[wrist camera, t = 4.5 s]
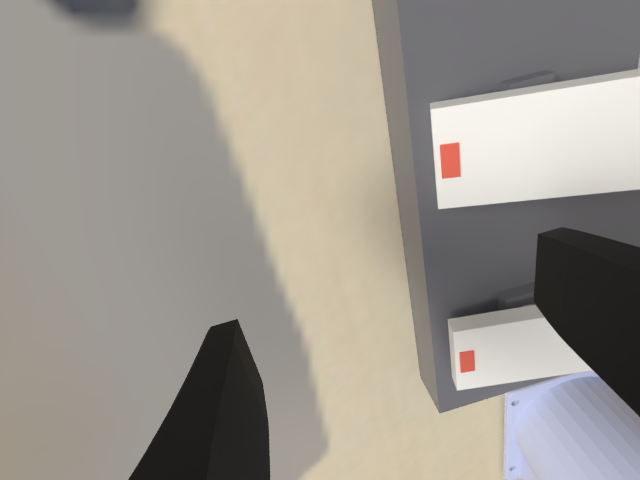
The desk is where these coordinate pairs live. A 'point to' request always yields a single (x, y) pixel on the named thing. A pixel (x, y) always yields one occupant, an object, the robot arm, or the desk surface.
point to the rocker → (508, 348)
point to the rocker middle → (538, 141)
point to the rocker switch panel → (501, 218)
